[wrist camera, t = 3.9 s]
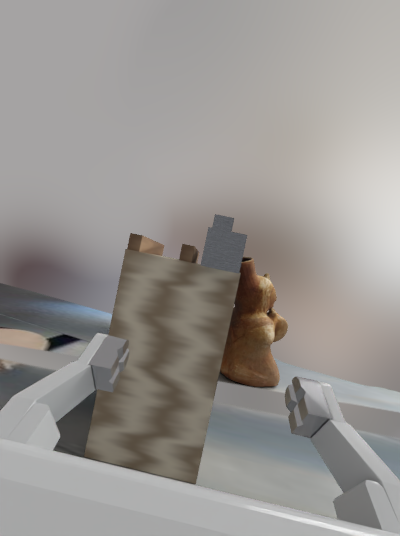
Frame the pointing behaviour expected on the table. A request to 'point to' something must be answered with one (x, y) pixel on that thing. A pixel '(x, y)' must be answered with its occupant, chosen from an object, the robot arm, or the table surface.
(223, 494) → the robot arm
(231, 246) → the bracket
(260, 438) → the table surface
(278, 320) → the ceramic vessel
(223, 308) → the stand
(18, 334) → the table surface
